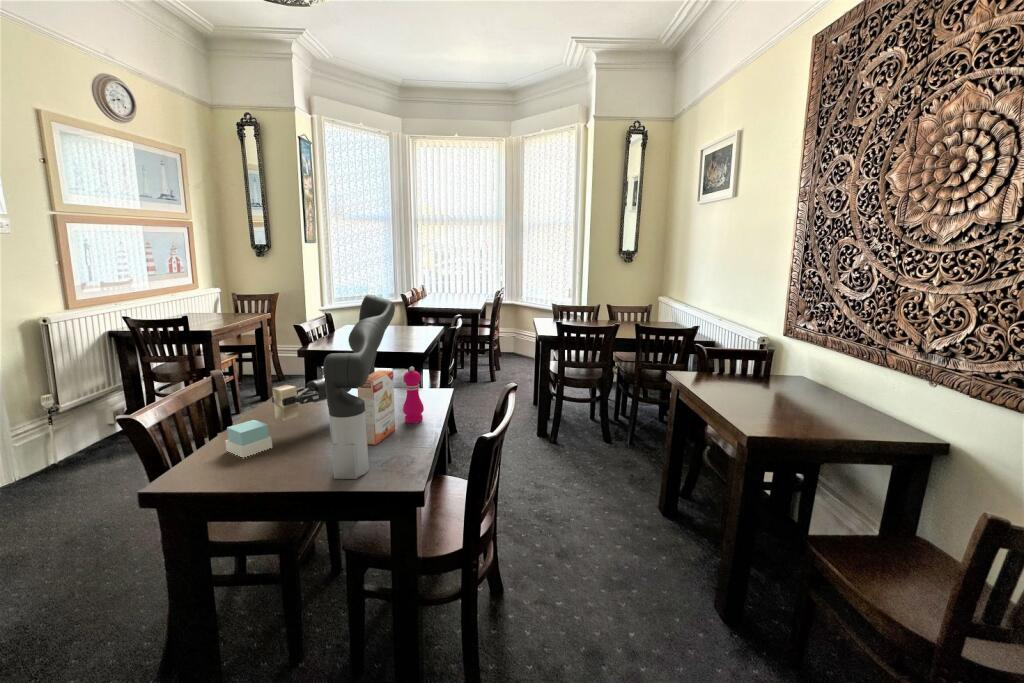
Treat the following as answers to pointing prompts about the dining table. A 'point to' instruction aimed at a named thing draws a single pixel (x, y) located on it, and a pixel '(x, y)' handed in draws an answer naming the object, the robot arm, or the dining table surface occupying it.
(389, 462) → the dining table surface
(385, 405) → the cracker box
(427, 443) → the dining table surface
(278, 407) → the birch post
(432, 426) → the dining table surface
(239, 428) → the tower top
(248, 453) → the tower base
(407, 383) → the pepper mill
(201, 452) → the dining table surface
